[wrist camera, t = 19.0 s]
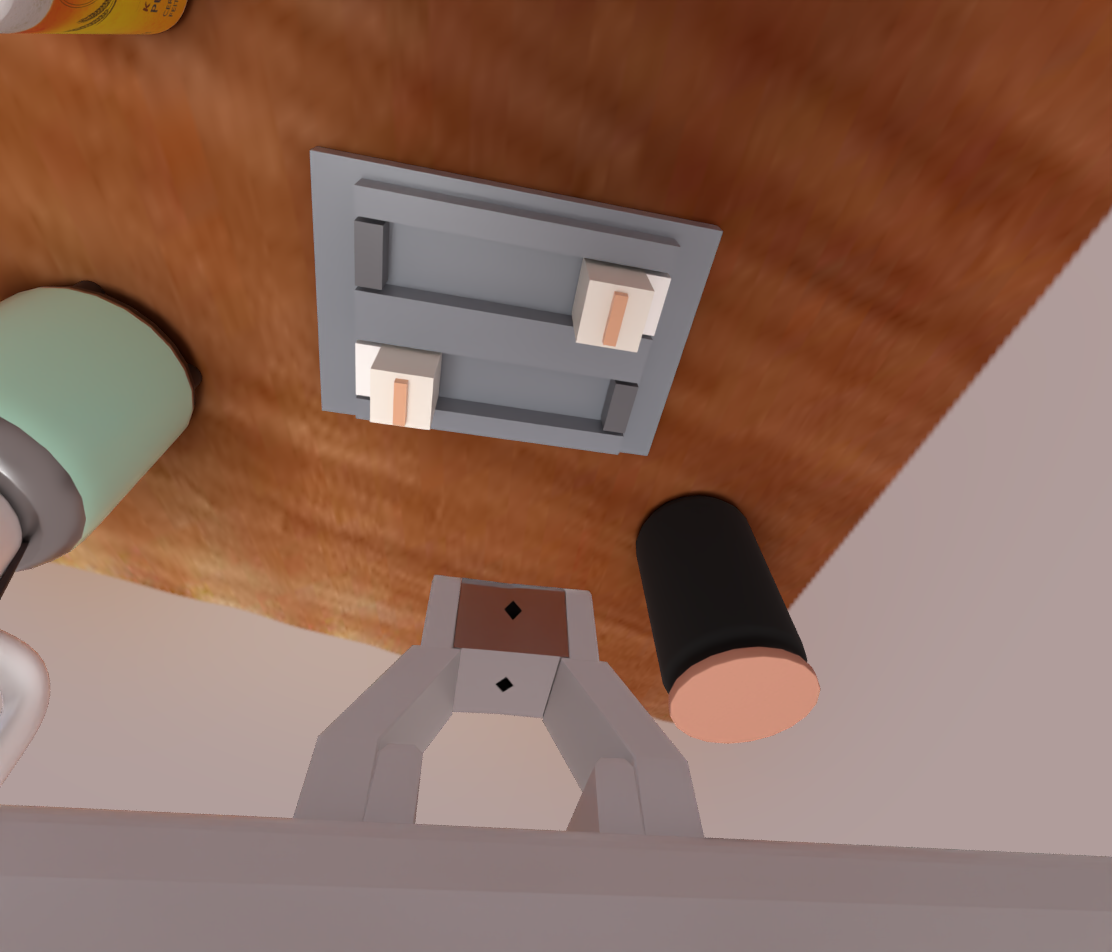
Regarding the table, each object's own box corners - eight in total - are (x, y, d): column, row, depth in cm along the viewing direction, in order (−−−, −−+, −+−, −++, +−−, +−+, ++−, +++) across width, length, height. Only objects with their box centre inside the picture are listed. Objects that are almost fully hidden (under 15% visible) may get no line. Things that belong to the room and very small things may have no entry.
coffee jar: (644, 582, 60) (680, 754, 46) (623, 504, 54) (657, 674, 40) (750, 560, 59) (821, 730, 45) (741, 477, 53) (821, 643, 38)
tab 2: (583, 255, 39) (590, 283, 35) (642, 265, 40) (656, 295, 35) (571, 313, 42) (576, 346, 37) (626, 322, 42) (638, 356, 38)
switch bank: (316, 146, 37) (299, 155, 34) (717, 225, 40) (731, 239, 37) (327, 400, 47) (314, 424, 44) (644, 445, 51) (651, 470, 48)
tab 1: (385, 337, 42) (368, 372, 38) (442, 346, 43) (432, 382, 38) (384, 386, 44) (368, 426, 40) (438, 394, 45) (428, 434, 40)
